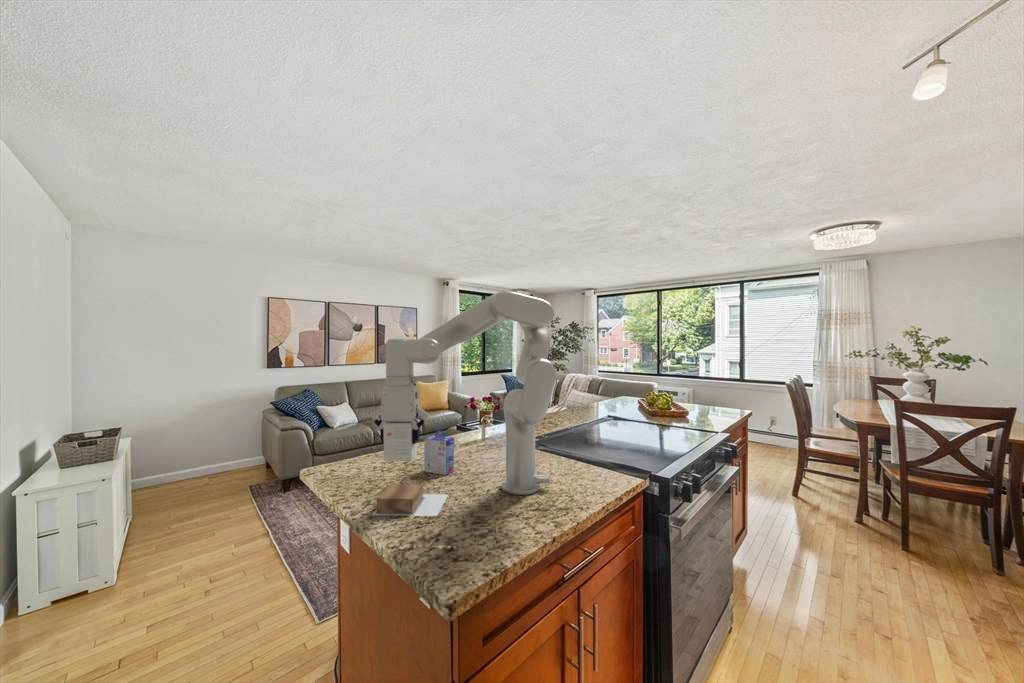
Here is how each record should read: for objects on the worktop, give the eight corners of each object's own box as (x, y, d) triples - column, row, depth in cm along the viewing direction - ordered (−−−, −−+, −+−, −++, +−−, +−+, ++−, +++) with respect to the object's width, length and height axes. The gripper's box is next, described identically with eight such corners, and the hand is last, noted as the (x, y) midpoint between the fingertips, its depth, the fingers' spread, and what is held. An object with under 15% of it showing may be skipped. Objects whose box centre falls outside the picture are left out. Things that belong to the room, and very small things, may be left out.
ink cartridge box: (455, 470, 136) (454, 431, 136) (446, 475, 131) (446, 434, 131) (432, 467, 140) (432, 428, 140) (423, 471, 135) (423, 432, 135)
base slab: (423, 498, 111) (423, 484, 111) (412, 513, 101) (412, 498, 101) (390, 497, 112) (390, 484, 112) (376, 513, 102) (376, 498, 102)
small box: (417, 454, 110) (417, 419, 109) (411, 461, 104) (411, 423, 104) (390, 454, 110) (390, 419, 110) (383, 460, 104) (383, 423, 104)
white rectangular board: (448, 495, 114) (448, 494, 114) (436, 517, 100) (436, 515, 100) (390, 494, 115) (390, 493, 115) (371, 516, 101) (371, 514, 101)
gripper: (433, 380, 110) (433, 439, 110) (375, 380, 111) (375, 438, 111) (426, 383, 102) (426, 446, 102) (364, 383, 103) (364, 446, 103)
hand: (400, 442), depth 106 cm, fingers closed on small box, 8 cm apart
